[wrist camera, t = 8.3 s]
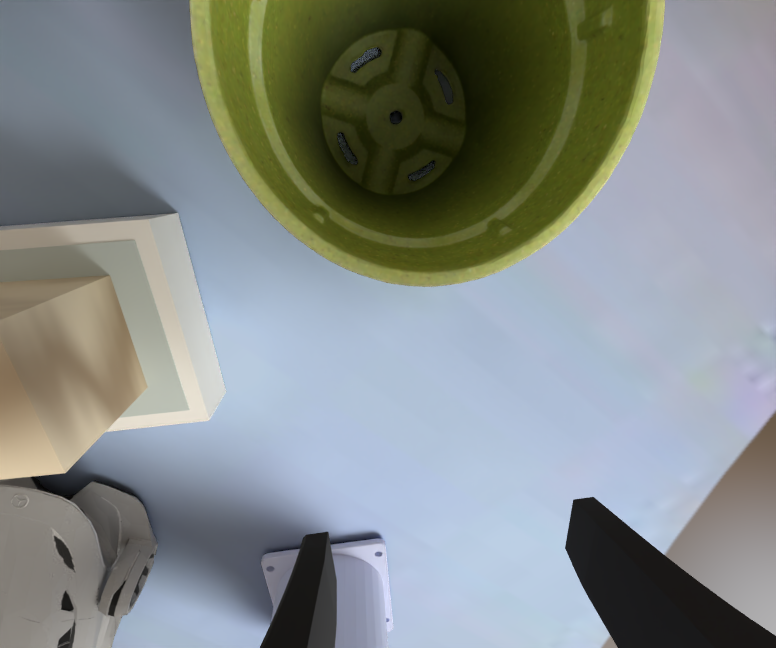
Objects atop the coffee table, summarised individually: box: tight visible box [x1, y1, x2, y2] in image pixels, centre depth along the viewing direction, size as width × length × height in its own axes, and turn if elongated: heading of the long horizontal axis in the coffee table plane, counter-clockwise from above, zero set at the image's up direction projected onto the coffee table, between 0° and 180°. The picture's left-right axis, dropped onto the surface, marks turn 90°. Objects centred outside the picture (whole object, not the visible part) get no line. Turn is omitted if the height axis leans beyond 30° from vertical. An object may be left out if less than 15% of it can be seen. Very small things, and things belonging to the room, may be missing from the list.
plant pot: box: [189, 0, 665, 287], centre depth 11 cm, size 9×9×9 cm
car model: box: [0, 476, 158, 648], centre depth 21 cm, size 11×24×5 cm, turn 158°
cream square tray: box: [0, 213, 226, 432], centre depth 16 cm, size 9×9×3 cm
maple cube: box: [0, 275, 148, 480], centre depth 13 cm, size 5×5×5 cm
